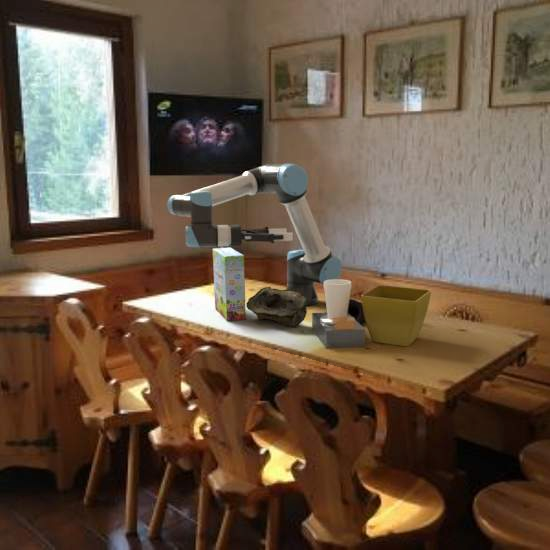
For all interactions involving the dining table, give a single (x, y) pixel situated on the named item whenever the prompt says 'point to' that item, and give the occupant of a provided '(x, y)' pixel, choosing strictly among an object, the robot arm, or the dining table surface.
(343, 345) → the block
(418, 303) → the flower pot
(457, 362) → the dining table surface
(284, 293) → the moss-covered rock
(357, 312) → the pipe
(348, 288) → the foam cup
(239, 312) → the snack box
